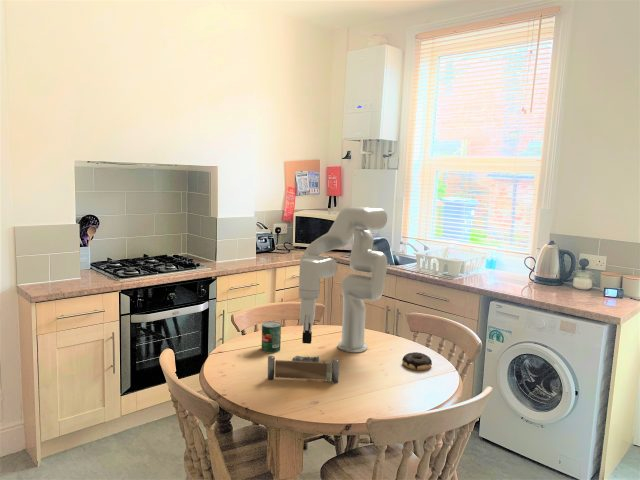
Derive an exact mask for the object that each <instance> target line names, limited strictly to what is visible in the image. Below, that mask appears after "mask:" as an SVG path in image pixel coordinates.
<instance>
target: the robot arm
mask: <svg viewBox="0 0 640 480" xmlns="http://www.w3.org/2000/svg"><path fill="white" fill-rule="evenodd" d="M387 222H388V214H387V212H386V210H385V209H383V208H381V207H379V208H378V207H370V206H369V207H366V206H351V207H350V206H346V207H344V208H341V210H340V212H339V213H338V215H336V218H335V219H334V221H333V223H332V224H331V226H330V228H329V230H328V232H326V233H325V234H322V235H321V236H319V237H318V238H316V239H315V240H314V241H311V243H309V244H308V245H307V247H306V249H305V250H304V252H303V254H302V256H301V257H300V260H299V270H298V271H299V276H298V295H297V296H298V298H299V299H300V308H299V309H300V310H299V321H298V323H299V324H298V326H300V327H301V326H303V327H302V328H303V330H302V340H301V341H302V342H301V343H302V344H309V345H310V344H312V335H313V332H312V328H313V326H314V321H315V314H316V306H317V305H316V303H317V302H316V300H318V299H320V291H321V290H320V288H321V287H320V286H321V279H327V278H332V277H334V276H335V275H336V273H337V272H338V263H337V261H336V260H335V259H334V258H332V257H330V256H329V257H328V256H322V254H324V253H327V252H329V251H332V250H336V249H337V250H338V249H340V248H343V247H345V246H346V245H348V243H349V240H350V239H351V236H353V238H352V239H353V240H352V248H351V251H350V252H351V253H350V256H349V258H350V260H349V268H350V269H351V270H352V271H355V272H359V273H366V274H371V276H367V275H361V274H353V273H352V274H350V273H349V274H347V275H345V276H344V277H343V278H342V282H341V292H342V293H341V294H342V301H343V302H342V321H341V322H342V324H341V327H342V328H341V340H340V341H339V342H338V343H337V348H338V349H339V350H341V351H343V352H348V353H362V352H366V350H367V349H368V344H367V343H366V342H365V331H366V330H365V328H366V303H365V301H364V300H367V301H373V302H374V301H379V300H380V299H381V298H382V295H383V292H384V287H385V281H386V276H387V270H388V258H387V255H386V254H385V253H383V252H382V251H377V250H373V247H374V243H375V242H374V236H373V232H372V231H376V230H382V229H383V228H384V227H385V226H386V224H387Z"/></svg>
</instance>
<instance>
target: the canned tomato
mask: <svg viewBox="0 0 640 480" xmlns="http://www.w3.org/2000/svg"><path fill="white" fill-rule="evenodd" d="M281 334H282V323H281V322H279V321H275V320H273V321H264V322H262V324H261V351H262V352H263V351H264V352H263V353H266V352H268V354H275V353H279V352H280V351H281V339H282V338H281ZM278 351H279V352H278Z"/></svg>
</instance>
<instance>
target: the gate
mask: <svg viewBox="0 0 640 480" xmlns="http://www.w3.org/2000/svg"><path fill="white" fill-rule="evenodd" d="M274 378H277V379H278V378H279V379H280V378H281V379H298V380H299V379H300V380H301V379H302V380H322V381H326V382H332V361H326V362H325V361H324V362H323V361H322V362H321V361H319V362H305V361H292V360H283V359H282V360H280V359H275V368H274Z"/></svg>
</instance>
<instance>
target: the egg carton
mask: <svg viewBox="0 0 640 480" xmlns="http://www.w3.org/2000/svg"><path fill="white" fill-rule="evenodd" d="M291 361H305V362H320V356H300V355H296V356H294V357H292V359H291Z"/></svg>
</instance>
